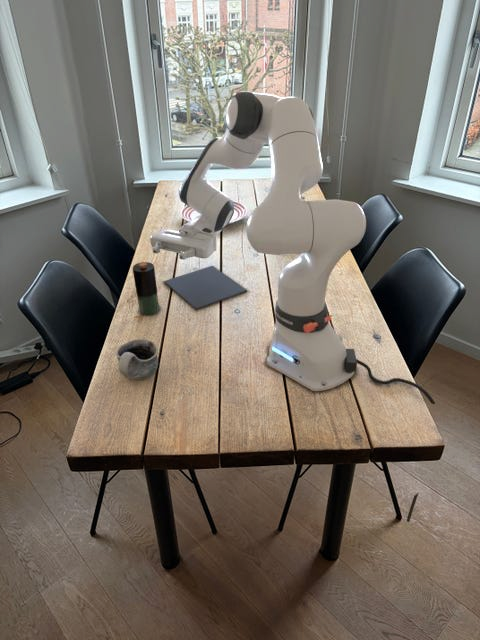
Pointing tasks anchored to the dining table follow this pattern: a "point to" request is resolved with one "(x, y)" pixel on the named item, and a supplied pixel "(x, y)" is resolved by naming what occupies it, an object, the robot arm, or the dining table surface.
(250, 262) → the dining table surface
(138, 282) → the black canister with knob
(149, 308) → the glass
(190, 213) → the dinner plate
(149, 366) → the mug
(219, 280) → the mat
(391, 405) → the dining table surface
